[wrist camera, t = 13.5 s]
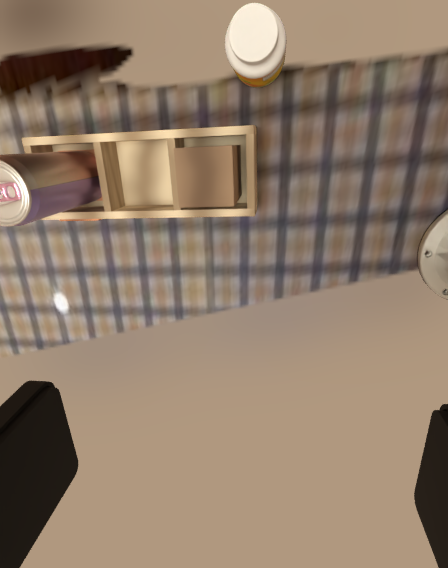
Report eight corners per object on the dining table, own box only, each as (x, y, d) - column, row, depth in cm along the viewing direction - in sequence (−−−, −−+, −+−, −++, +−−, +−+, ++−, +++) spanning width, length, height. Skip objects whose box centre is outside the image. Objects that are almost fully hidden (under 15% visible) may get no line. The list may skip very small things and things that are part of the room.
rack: (256, 127, 39) (253, 125, 35) (257, 210, 43) (254, 218, 38) (48, 138, 43) (21, 137, 38) (65, 214, 46) (41, 222, 42)
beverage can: (114, 199, 44) (40, 226, 30) (71, 203, 44) (-21, 231, 31) (103, 148, 41) (17, 151, 28) (58, 153, 42) (-47, 159, 29)
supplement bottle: (222, 58, 37) (205, 31, 28) (262, 15, 35) (257, -28, 26) (255, 99, 38) (249, 87, 29) (295, 60, 36) (301, 34, 27)
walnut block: (240, 144, 39) (232, 145, 32) (241, 194, 41) (234, 206, 34) (192, 146, 40) (173, 148, 33) (196, 196, 42) (179, 207, 35)
